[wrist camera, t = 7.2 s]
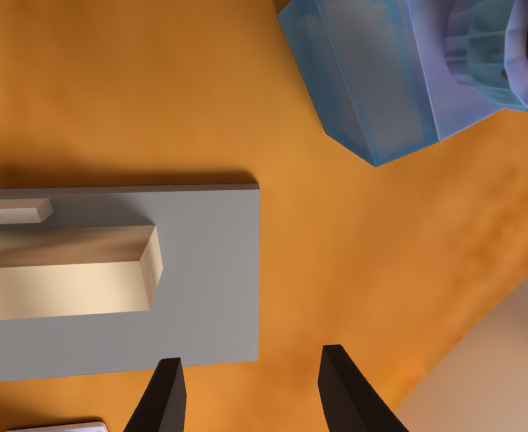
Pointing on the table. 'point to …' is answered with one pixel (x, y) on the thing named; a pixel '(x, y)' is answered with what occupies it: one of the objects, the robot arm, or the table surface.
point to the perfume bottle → (408, 67)
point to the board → (169, 287)
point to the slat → (78, 271)
